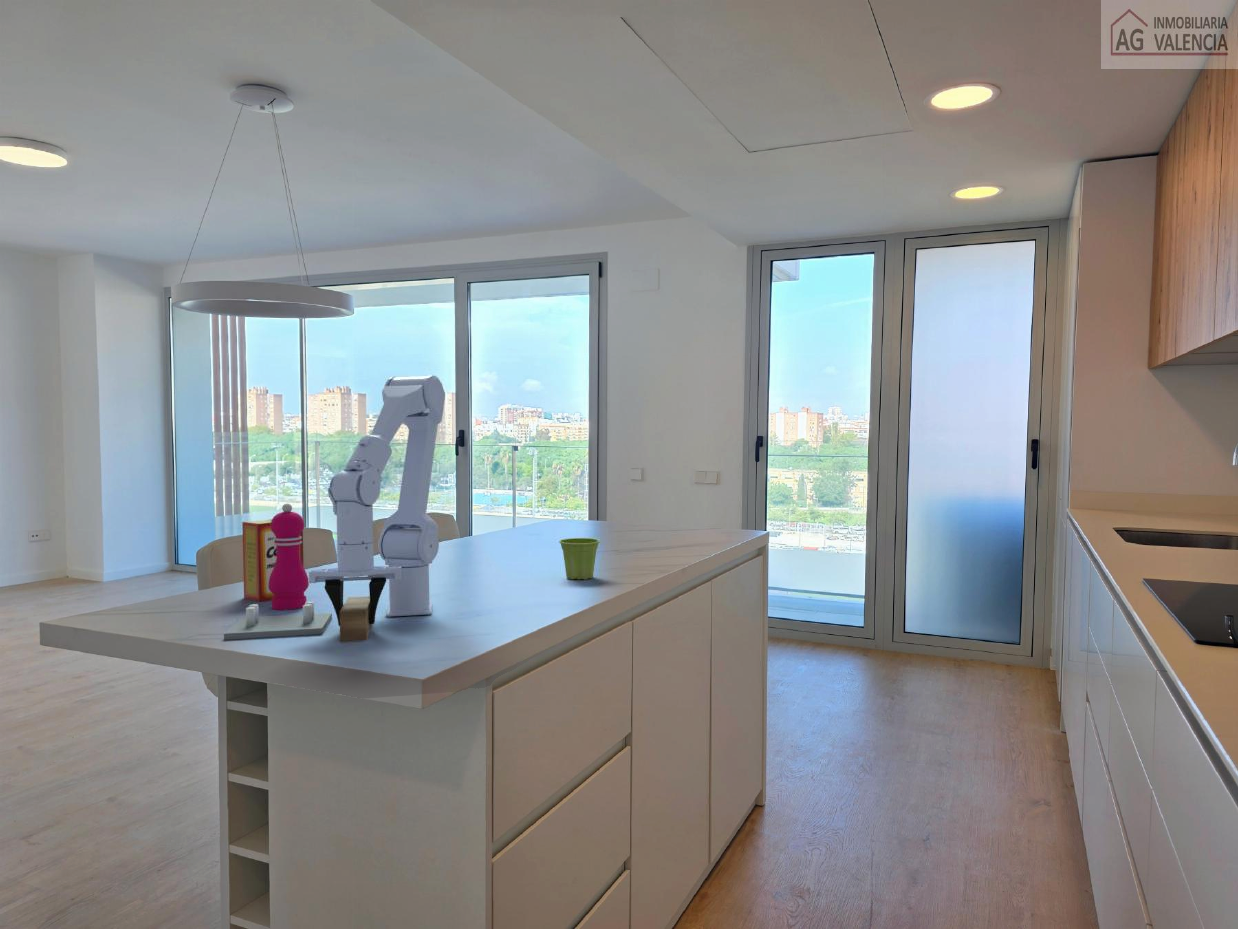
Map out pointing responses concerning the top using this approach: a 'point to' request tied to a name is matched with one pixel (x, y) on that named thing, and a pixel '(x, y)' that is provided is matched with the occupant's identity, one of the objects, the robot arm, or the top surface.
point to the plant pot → (579, 557)
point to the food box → (259, 559)
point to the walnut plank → (355, 619)
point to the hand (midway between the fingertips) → (356, 623)
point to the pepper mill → (288, 562)
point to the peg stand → (278, 624)
